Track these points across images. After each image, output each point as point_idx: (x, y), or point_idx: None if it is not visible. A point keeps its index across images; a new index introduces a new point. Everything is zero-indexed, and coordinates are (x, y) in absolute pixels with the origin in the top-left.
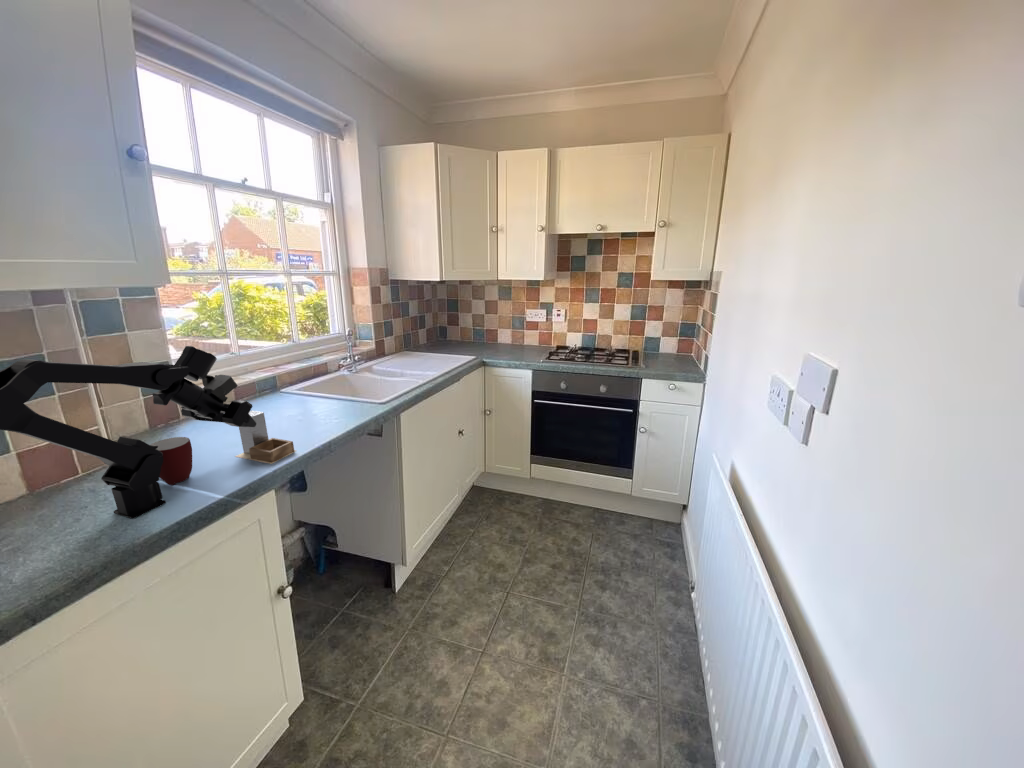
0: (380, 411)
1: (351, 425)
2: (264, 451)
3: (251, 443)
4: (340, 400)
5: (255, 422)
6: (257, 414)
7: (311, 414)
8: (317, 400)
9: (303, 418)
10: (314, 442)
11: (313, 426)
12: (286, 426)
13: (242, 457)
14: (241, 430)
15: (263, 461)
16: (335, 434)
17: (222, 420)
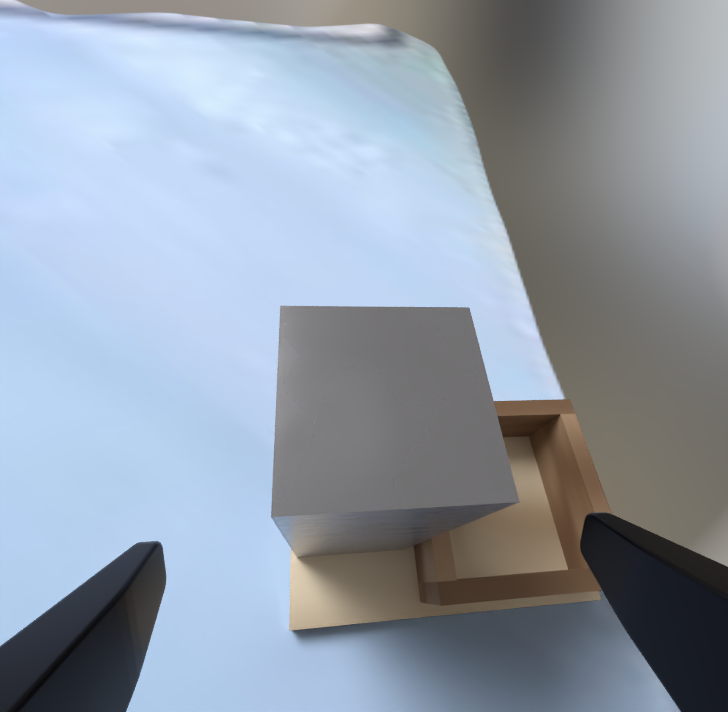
0: (443, 80)
1: (464, 169)
2: (586, 590)
3: (397, 543)
4: (220, 34)
5: (634, 528)
6: (483, 376)
7: (214, 125)
8: (124, 40)
9: (214, 156)
10: (492, 312)
11: (331, 201)
12: (207, 225)
13: (354, 617)
14: (316, 539)
15: (531, 598)
16: (491, 236)
17: (111, 707)
